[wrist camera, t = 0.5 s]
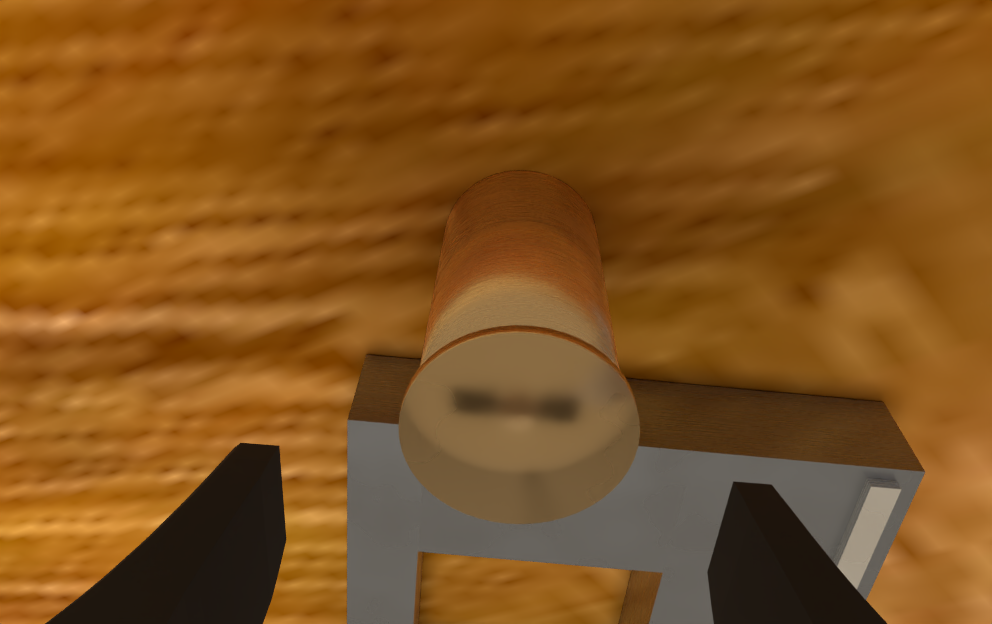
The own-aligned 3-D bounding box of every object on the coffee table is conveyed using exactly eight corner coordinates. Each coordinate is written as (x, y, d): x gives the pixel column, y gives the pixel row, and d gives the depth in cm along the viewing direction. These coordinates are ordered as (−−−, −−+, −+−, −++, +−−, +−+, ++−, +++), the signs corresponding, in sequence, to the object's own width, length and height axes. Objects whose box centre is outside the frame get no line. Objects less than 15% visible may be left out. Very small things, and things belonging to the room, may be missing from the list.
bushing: (617, 171, 21) (661, 347, 14) (590, 320, 24) (618, 533, 17) (441, 154, 21) (402, 322, 14) (432, 306, 24) (394, 513, 17)
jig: (883, 402, 25) (930, 480, 22) (762, 701, 32) (785, 788, 29) (366, 354, 24) (345, 427, 22) (361, 667, 32) (345, 753, 29)
